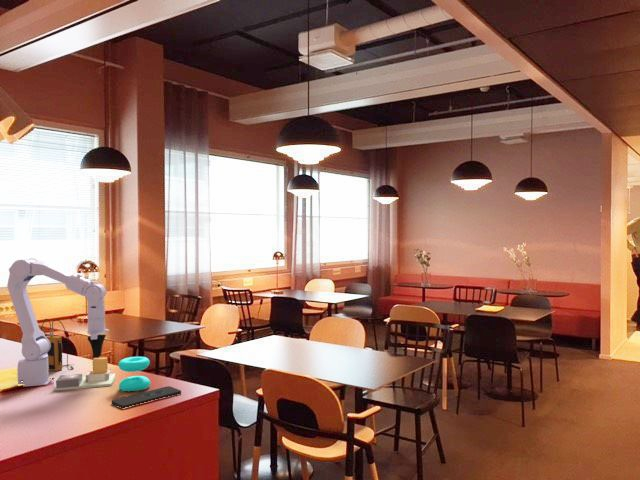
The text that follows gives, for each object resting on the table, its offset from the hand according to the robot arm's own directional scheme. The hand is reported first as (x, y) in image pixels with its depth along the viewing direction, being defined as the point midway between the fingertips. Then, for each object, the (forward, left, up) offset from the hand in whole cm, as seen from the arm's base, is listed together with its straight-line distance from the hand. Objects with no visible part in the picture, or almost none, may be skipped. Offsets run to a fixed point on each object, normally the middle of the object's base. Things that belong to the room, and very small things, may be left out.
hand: (97, 356), depth 193 cm
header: (0, 0, -9) cm, 9 cm away
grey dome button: (-8, -5, -9) cm, 13 cm away
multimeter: (-17, +25, -9) cm, 32 cm away
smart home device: (+18, -28, -10) cm, 35 cm away
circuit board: (-3, -2, -9) cm, 10 cm away
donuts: (+14, -15, -9) cm, 22 cm away
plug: (+1, 0, -8) cm, 8 cm away
